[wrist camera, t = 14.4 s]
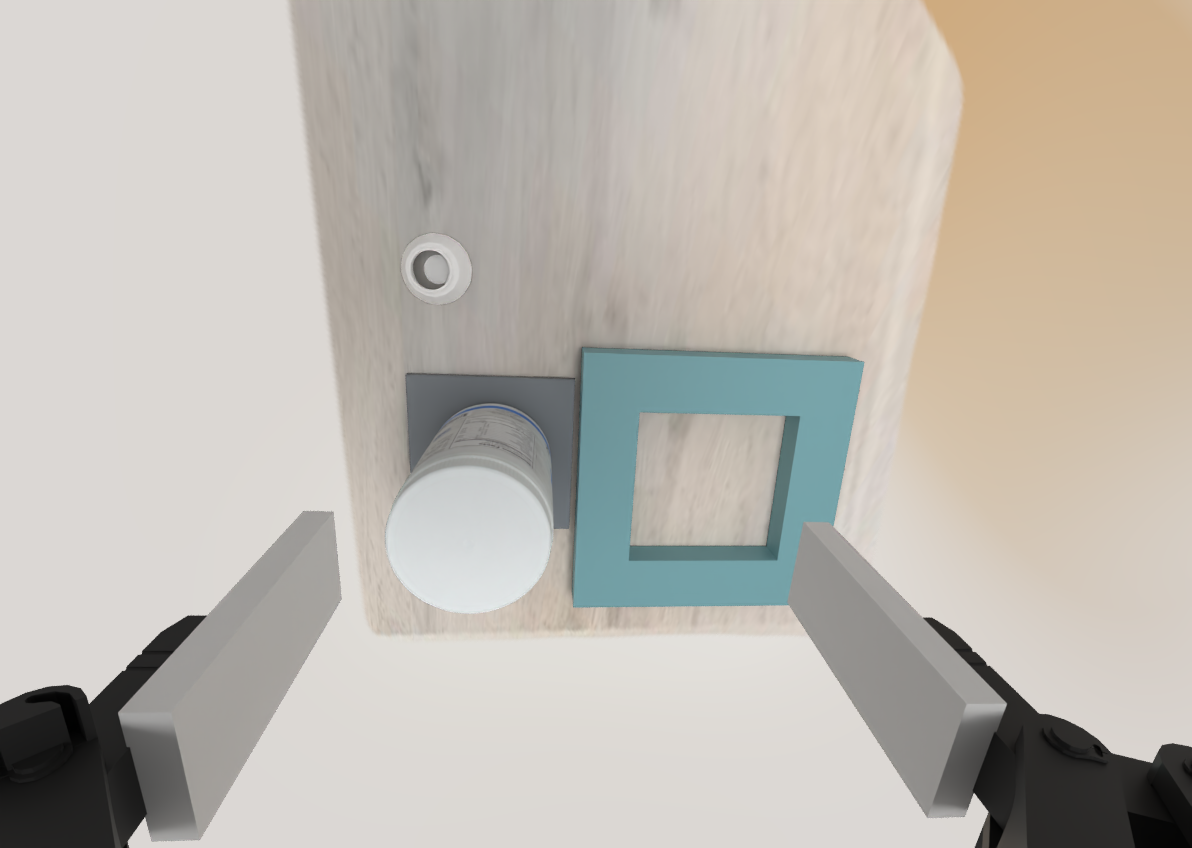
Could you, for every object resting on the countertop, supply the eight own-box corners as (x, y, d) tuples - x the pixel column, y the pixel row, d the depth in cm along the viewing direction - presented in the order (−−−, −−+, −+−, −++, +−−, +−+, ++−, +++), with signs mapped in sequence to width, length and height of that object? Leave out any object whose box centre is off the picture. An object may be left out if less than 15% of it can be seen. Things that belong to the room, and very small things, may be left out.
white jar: (486, 276, 41) (442, 219, 40) (481, 278, 39) (434, 216, 37) (434, 316, 42) (389, 261, 41) (426, 321, 39) (377, 261, 38)
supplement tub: (537, 520, 47) (533, 632, 33) (423, 498, 45) (368, 606, 31) (563, 412, 44) (572, 484, 30) (444, 386, 43) (394, 448, 29)
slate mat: (407, 373, 43) (405, 374, 42) (574, 378, 44) (574, 379, 43) (415, 524, 46) (413, 528, 46) (569, 525, 48) (569, 528, 47)
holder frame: (582, 347, 43) (584, 352, 41) (847, 356, 45) (864, 362, 43) (572, 590, 50) (573, 607, 47) (806, 588, 52) (818, 604, 49)
